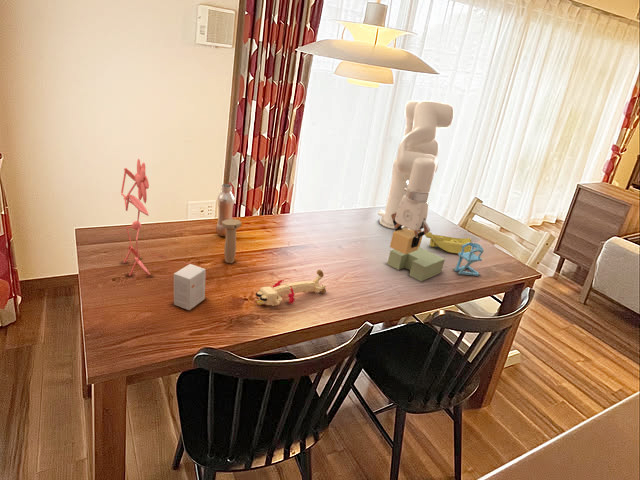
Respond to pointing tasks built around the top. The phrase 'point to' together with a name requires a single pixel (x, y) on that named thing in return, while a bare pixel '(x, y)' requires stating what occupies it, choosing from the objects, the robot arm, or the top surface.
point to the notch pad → (417, 263)
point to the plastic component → (449, 243)
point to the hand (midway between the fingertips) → (405, 242)
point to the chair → (469, 259)
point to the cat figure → (288, 290)
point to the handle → (230, 239)
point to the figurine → (137, 206)
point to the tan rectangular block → (404, 241)
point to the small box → (189, 286)
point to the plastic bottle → (224, 207)
